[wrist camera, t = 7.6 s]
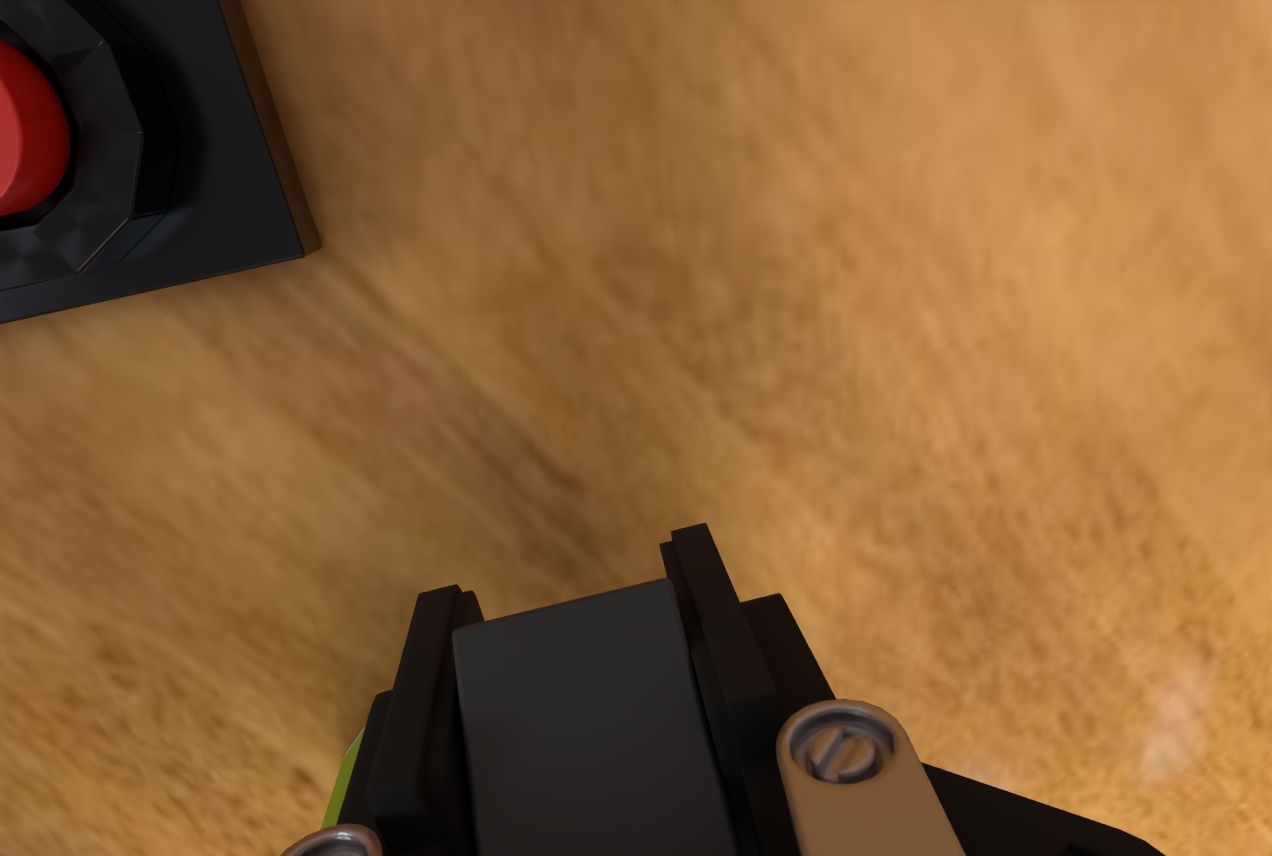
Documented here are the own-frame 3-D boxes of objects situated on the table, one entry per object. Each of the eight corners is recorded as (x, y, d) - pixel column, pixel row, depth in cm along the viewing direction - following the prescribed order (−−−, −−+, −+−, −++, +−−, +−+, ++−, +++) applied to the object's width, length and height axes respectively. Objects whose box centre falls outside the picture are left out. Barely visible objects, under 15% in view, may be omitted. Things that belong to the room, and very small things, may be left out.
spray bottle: (561, 771, 27) (299, 596, 10) (734, 727, 27) (791, 478, 10) (596, 983, 24) (313, 1289, 7) (790, 932, 24) (1011, 1098, 7)
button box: (-70, 335, 20) (-186, 371, 17) (-253, -17, 18) (-433, -54, 14) (323, 248, 21) (283, 267, 18) (204, -108, 18) (130, -165, 15)
